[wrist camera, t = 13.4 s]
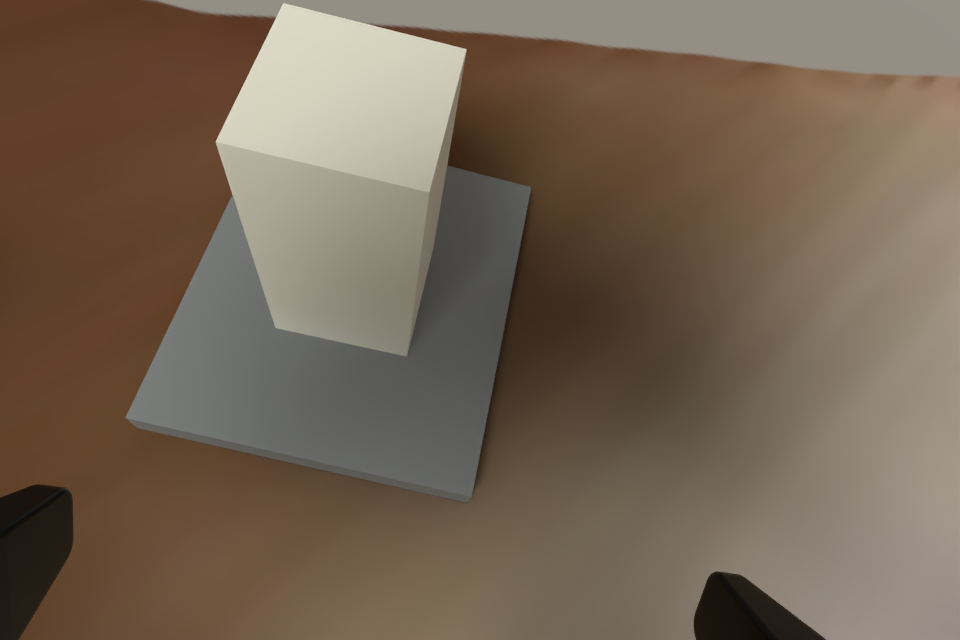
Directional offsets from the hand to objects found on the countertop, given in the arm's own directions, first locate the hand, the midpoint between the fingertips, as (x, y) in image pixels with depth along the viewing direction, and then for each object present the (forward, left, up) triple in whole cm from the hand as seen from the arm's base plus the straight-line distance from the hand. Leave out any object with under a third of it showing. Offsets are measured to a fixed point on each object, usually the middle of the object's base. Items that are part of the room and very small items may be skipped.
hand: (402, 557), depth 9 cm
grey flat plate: (+4, -11, -14) cm, 18 cm away
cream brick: (+4, -11, -12) cm, 17 cm away
